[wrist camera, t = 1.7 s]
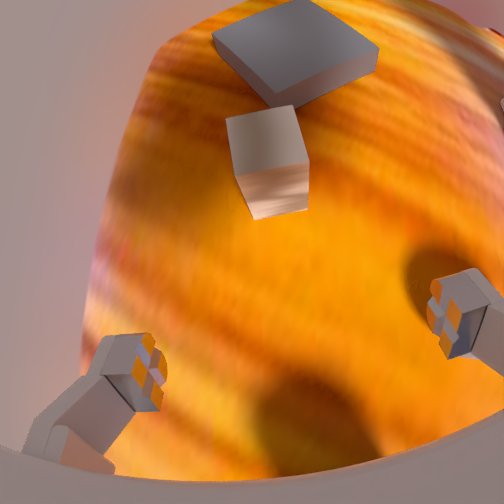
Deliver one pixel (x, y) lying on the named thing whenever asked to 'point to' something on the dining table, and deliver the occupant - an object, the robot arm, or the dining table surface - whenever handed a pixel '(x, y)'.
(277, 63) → the grey plinth
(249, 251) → the dining table surface
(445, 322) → the robot arm
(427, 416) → the dining table surface
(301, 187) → the grey upright block
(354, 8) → the dining table surface
